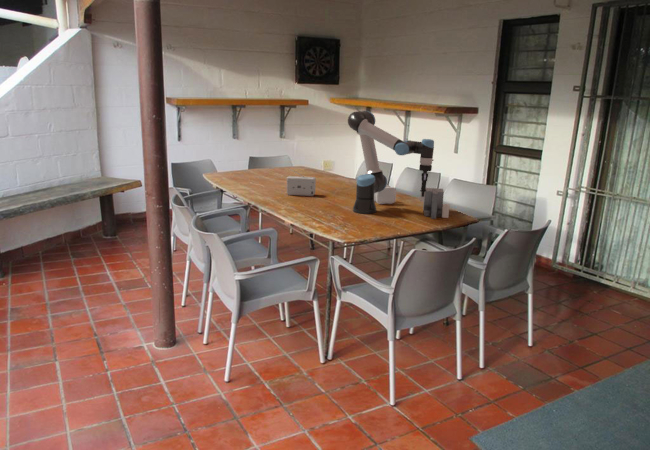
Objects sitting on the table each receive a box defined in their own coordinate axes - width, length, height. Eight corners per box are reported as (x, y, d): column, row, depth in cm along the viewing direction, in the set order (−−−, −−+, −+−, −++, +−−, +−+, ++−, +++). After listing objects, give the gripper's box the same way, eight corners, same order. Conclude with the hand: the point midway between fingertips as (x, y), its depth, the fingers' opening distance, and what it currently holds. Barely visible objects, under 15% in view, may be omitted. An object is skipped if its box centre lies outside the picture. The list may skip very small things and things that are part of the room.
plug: (424, 216, 333) (425, 204, 331) (424, 214, 337) (425, 202, 335) (448, 217, 331) (449, 205, 329) (448, 216, 335) (449, 204, 333)
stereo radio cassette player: (315, 194, 392) (316, 167, 387) (314, 196, 384) (314, 169, 379) (287, 193, 394) (288, 166, 388) (285, 195, 386) (286, 168, 381)
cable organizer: (375, 204, 363) (376, 188, 360) (369, 201, 372) (370, 185, 369) (395, 203, 367) (396, 187, 364) (389, 200, 377) (390, 184, 374)
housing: (423, 218, 328) (425, 193, 324) (423, 208, 356) (424, 184, 352) (443, 219, 327) (445, 194, 322) (441, 209, 354) (443, 185, 350)
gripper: (432, 166, 320) (428, 204, 326) (431, 163, 332) (427, 199, 339) (419, 165, 321) (416, 203, 328) (419, 162, 334) (416, 198, 340)
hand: (422, 201), depth 333 cm, fingers closed
